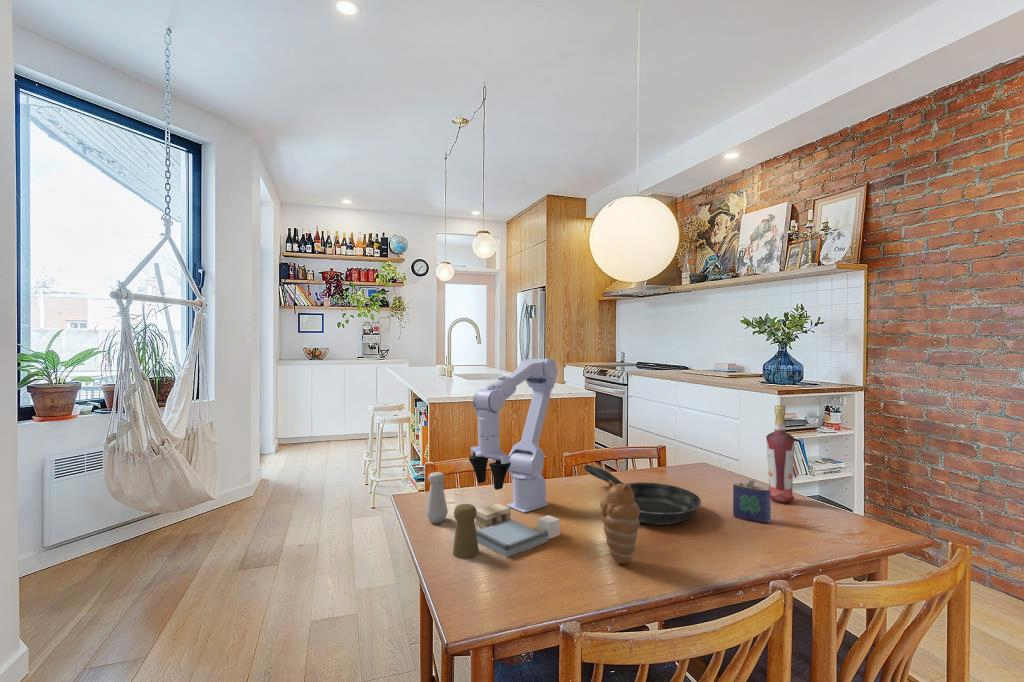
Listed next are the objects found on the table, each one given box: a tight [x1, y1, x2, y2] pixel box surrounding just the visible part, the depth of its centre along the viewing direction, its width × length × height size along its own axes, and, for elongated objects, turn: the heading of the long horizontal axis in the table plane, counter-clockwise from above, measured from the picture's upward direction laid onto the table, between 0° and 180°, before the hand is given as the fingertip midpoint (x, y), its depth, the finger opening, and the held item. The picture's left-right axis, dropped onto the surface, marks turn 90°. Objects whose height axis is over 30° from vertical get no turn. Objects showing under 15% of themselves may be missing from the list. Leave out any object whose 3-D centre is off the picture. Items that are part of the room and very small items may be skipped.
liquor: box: [765, 405, 795, 504], centre depth 147 cm, size 7×7×28 cm
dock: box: [476, 519, 549, 558], centre depth 122 cm, size 13×14×2 cm
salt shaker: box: [425, 471, 449, 524], centre depth 135 cm, size 6×6×13 cm
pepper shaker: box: [452, 503, 480, 559], centre depth 115 cm, size 6×6×11 cm
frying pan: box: [583, 464, 702, 526], centre depth 147 cm, size 44×25×7 cm, turn 26°
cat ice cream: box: [599, 480, 641, 565], centre depth 108 cm, size 9×8×18 cm
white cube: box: [536, 514, 561, 540], centre depth 125 cm, size 4×4×4 cm
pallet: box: [474, 502, 512, 529], centre depth 132 cm, size 8×5×4 cm, turn 130°
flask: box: [732, 479, 772, 525], centre depth 132 cm, size 9×3×11 cm, turn 50°
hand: (489, 485), depth 132 cm, fingers open, 7 cm apart
